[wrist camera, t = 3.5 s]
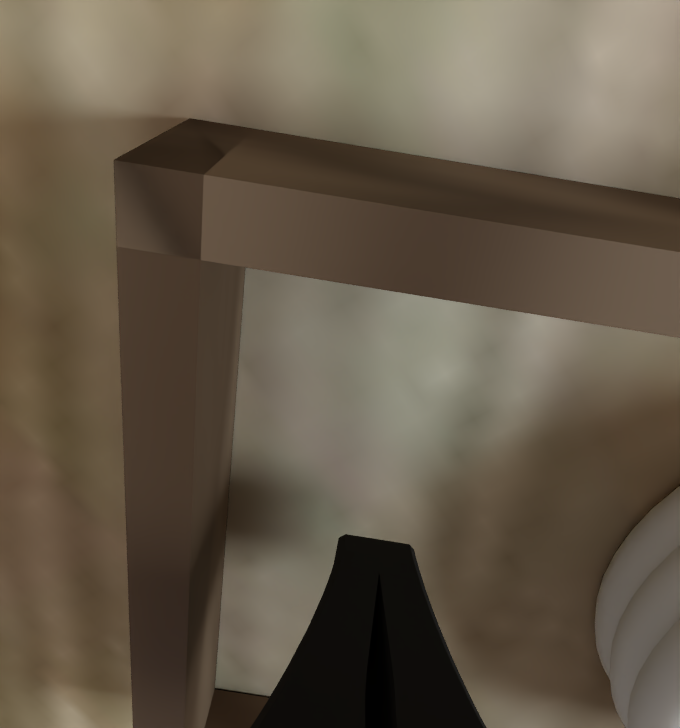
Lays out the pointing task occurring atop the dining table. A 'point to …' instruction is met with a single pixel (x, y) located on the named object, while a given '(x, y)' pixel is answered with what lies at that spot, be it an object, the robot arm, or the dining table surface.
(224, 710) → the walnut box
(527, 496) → the dining table surface
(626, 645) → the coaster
